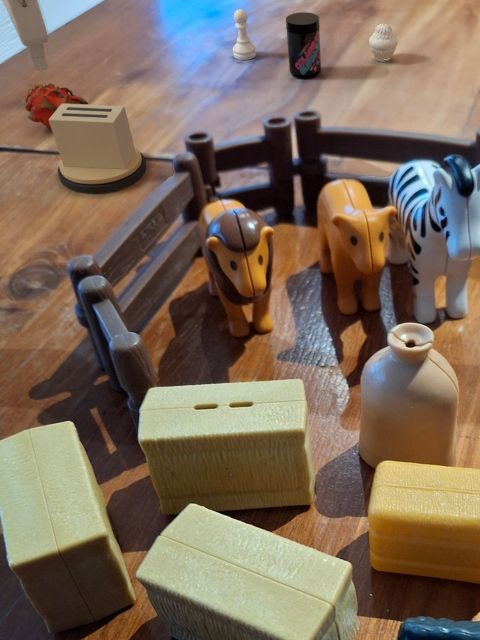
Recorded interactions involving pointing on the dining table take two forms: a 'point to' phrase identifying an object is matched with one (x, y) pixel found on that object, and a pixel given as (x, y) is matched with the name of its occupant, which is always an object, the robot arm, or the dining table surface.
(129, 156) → the toaster
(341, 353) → the dining table surface
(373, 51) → the muffin
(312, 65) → the supplement container
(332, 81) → the dining table surface
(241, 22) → the chess pawn
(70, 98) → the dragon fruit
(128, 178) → the turntable base
